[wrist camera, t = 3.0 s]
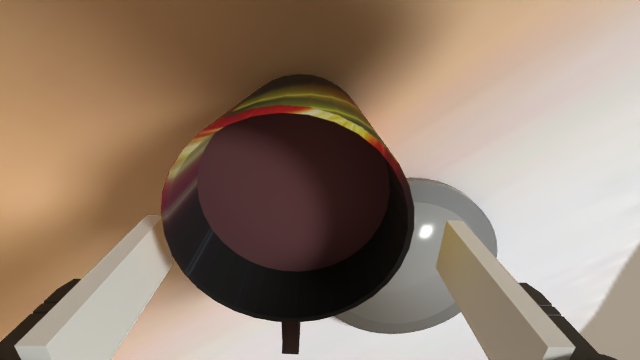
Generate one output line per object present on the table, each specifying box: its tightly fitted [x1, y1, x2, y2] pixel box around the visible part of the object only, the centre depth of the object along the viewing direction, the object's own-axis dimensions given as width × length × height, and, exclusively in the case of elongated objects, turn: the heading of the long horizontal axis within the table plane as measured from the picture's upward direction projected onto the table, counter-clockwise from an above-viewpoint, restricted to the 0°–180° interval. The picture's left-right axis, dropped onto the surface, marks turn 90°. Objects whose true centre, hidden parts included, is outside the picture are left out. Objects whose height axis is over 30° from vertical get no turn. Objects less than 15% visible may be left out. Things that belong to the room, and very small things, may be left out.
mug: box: [161, 74, 415, 354], centre depth 18 cm, size 10×14×12 cm
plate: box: [336, 178, 497, 334], centre depth 26 cm, size 16×16×1 cm
